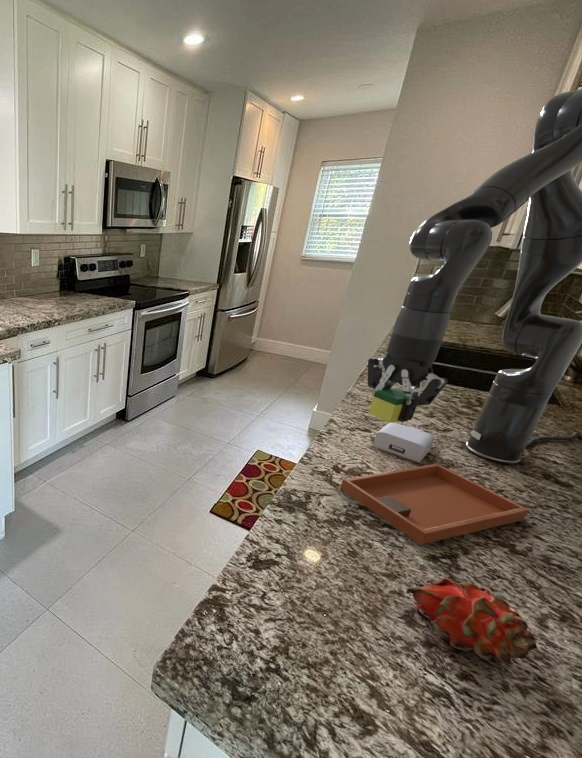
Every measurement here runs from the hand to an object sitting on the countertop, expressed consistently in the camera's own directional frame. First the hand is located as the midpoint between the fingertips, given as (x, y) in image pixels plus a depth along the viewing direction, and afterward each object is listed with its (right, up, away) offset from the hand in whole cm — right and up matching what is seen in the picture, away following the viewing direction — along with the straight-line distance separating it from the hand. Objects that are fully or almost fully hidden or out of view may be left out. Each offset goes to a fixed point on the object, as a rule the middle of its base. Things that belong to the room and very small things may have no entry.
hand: (390, 414), depth 83 cm
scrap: (-6, -17, -7) cm, 19 cm away
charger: (+17, -9, +17) cm, 26 cm away
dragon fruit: (-15, -26, -30) cm, 43 cm away
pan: (+3, -17, -5) cm, 18 cm away
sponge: (0, 0, 0) cm, 0 cm away
